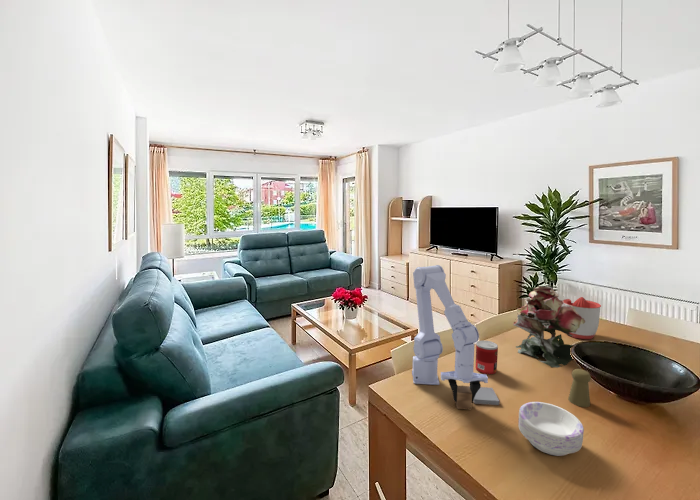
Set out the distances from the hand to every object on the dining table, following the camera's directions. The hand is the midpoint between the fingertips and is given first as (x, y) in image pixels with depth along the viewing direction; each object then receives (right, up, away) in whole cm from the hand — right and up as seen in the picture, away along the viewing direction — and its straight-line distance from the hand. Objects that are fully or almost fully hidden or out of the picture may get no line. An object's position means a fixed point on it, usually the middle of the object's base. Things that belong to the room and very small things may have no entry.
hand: (462, 400), depth 108 cm
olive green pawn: (+40, -1, +2) cm, 40 cm away
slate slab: (+9, -2, +5) cm, 10 cm away
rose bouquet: (+51, +4, +41) cm, 65 cm away
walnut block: (0, -1, 0) cm, 1 cm away
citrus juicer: (+79, +7, +58) cm, 98 cm away
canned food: (+17, +1, +24) cm, 30 cm away
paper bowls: (+18, -4, -17) cm, 25 cm away
